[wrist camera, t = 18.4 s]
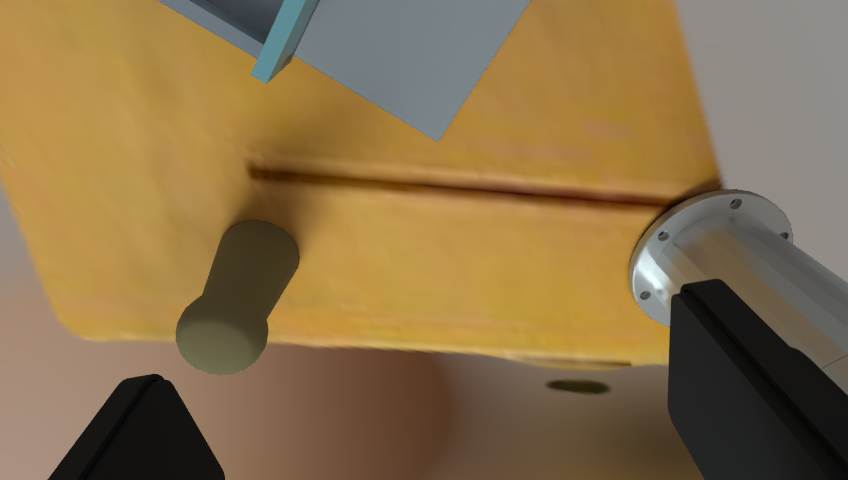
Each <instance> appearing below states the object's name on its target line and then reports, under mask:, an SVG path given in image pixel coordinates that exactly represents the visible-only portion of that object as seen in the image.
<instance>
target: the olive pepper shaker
mask: <svg viewBox="0 0 848 480" xmlns="http://www.w3.org/2000/svg"><path fill="white" fill-rule="evenodd" d="M298 264H299V253H298V248H297V246H296V244H295V242H294V241H293V239H292V237H291V236H290V235H289V234H287V233H286V232H285V231H284V230H283V229H282V228H280V227H278V226H276V225H274V224H272V223H269V222H264V221H259V220H252V221H243V222H241V223H238V224H236V225H233V226H232V227H231V228H230V229H228V230H227V231H226V232H225V233H224V235H223V237H222V239H221V241H220V243H219V246H218V249H217V252H216V255H215V258H214V261H213V264H212V267H211V270H210V273H209V276H208V279H207V282H206V285H205V288H204V291H203V294H202V296H200V297H199V298H197V299H196V300H195V301H194V302H192V303H191V304H190V305H189V306H188V307H186V309H185V310H184V312H183V313H182V315H181V317H180V319H179V321H178V323H177V328H176V342H177V345H178V348H179V350H180V353H181V355H182V356H183V358H184V359H185V360H186V361H187V362H188V363H189V364H191V365H192V366H194V367H195V368H196V369H198V370H201V371H203V372H206V373H209V374H216V375H227V374H234V373H237V372H239V371H242V370H244V369H246V368H248V367H249V366H250V365H252V364H253V363H254V362H255V361H256V360H257V359H258V358H259V356H260V354H261V353H262V352H263V350H264V348H265V346H266V342H267V336H268V324H267V318H268V316H269V315H270V313H271V311H272V310H273V308H274V306H275V305H276V303H277V301H278V300H279V298H280V296H281V295H282V293H283V291H284V290H285V288H286V286H287V285H288V283H289V281H290V280H291V278H292V276H293V275H294V273H295V271H296V270H297V268H298Z"/></svg>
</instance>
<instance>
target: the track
mask: <svg viewBox="0 0 848 480" xmlns="http://www.w3.org/2000/svg"><path fill="white" fill-rule="evenodd" d="M530 1H531V0H320V1H319V3H318V5H317V7H316V9H315V11H314V13H313V16H312V18H311V20H310V22H309V24H308V26H307V28H306V30H305V32H304V34H303V36H302V38H301V40H300V43H299V45H298V47H297V49H296V51H295V53H294V56H295V57H297V58H299V59H300V60H302V61H304V62H305V63H307V64H309V65H310V66H312V67H314V68H315V69H317V70H319V71H320V72H322V73H324V74H325V75H327V76H329V77H330V78H332V79H334V80H335V81H337V82H339V83H340V84H342V85H344V86H345V87H347V88H349V89H350V90H352V91H354V92H355V93H357V94H359V95H360V96H362V97H363V98H365V99H367V100H368V101H370V102H372V103H373V104H375V105H377V106H378V107H380V108H382V109H383V110H385V111H387V112H388V113H390V114H392V115H393V116H395V117H397V118H398V119H400V120H402V121H403V122H405V123H407V124H408V125H410V126H412V127H413V128H415V129H417V130H418V131H420V132H422V133H423V134H425V135H427V136H428V137H430V138H432V139H433V140H435V141H437V142H438V141H439V140H440V138H441V136H442V135H443V133H444V132H445V130H446V129H447V127H448V126H449V124H450V123H451V121H452V120H453V118H454V117H455V115H456V114H457V112H458V111H459V109H460V107H461V106H462V104H463V103H464V101H465V100H466V98H467V97H468V95H469V94H470V92H471V91H472V89H473V88H474V86H475V85H476V83H477V81H478V80H479V78H480V77H481V75H482V74H483V72H484V71H485V69H486V68H487V66H488V65H489V63H490V62H491V60H492V59H493V57H494V56H495V54H496V52H497V51H498V49H499V48H500V46H501V45H502V43H503V42H504V40H505V39H506V37H507V36H508V34H509V33H510V31H511V30H512V28H513V26H514V25H515V23H516V22H517V20H518V19H519V17H520V16H521V14H522V13H523V11H524V10H525V8H526V7H527V5H528V4H529V2H530Z"/></svg>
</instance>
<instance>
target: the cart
mask: <svg viewBox="0 0 848 480" xmlns="http://www.w3.org/2000/svg"><path fill="white" fill-rule="evenodd" d="M158 1H159V2H161V3H163V4H164V5H166V6H168V7H170V8H171V9H173V10H175V11H176V12H178V13H180V14H181V15H183V16H185V17H187V18H188V19H190V20H192V21H193V22H195V23H197V24H199V25H200V26H202V27H204V28H205V29H207V30H209V31H211V32H212V33H214V34H216V35H217V36H219V37H221V38H222V39H224V40H226V41H228V42H229V43H231V44H233V45H234V46H236V47H238V48H240V49H241V50H243V51H245V52H246V53H248V54H250V55H251V56H253V57H255V58H257V62H256V64H255V66H254V68H253V70H252V73H251V75H252V76H254V77H256V78H257V79H259V80H261V81H262V82H264V83H266V84H267V83H268V82H269V81H270V80H271V79H272V78H274V77H275V76H276V75H277V74H278V73H279V72H280V71H281V70H282V69H283V68H284V67H285V66H286V65H288V64H289V63H290V61H291V59H292V57H293V55H294V53H295V51H296V49H297V47H298V45H299V43H300V40H301V38H302V36H303V34H304V32H305V30H306V28H307V26H308V24H309V22H310V20H311V18H312V16H313V13H314V11H315V9H316V7H317V5H318V3H319V1H320V0H158Z"/></svg>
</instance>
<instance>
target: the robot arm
mask: <svg viewBox="0 0 848 480" xmlns="http://www.w3.org/2000/svg"><path fill="white" fill-rule="evenodd" d="M628 280H629V286H630V291H631V293H632V295H633V297H634V299H635V301H636V302H637V304H638V305H639V306H640V308H641V309H642V311H643V312H644V313H645V314H647V315H648V316H649V317H650V318H651V319H653V320H655V321H656V322H658V323H660V324H663V325H666V326H669V327H670V344H669V377H668V378H669V379H668V410H669V414H670V418H671V420H672V423H673V425H674V427H675V428H676V430H677V432H678V434H679V435H680V437H681V439H682V441H683V442H684V444H685V446H686V447H687V449H688V451H689V453H690V454H691V456H692V458H693V460H694V462H695V463H696V465H697V467H698V469H699V470H700V472H701V474H702V476H703V477H704V479H705V480H848V283H847V282H846V281H844V280H843V279H842V278H840V277H839V276H837V275H836V274H834V273H833V272H832V271H830V270H829V269H827V268H826V267H824V266H823V265H822V264H820V263H819V262H817V261H816V260H814V259H813V258H812V257H810V256H809V255H807V254H806V253H805V252H803V251H802V250H800V249H799V248H797V247H796V246H794V245H793V233H792V229H791V225H790V222H789V221H788V219H787V217H786V215H785V214H784V212H783V211H782V210H781V209H779V208H778V207H777V206H776V205H775V204H774V203H772V202H771V201H769V200H767V199H766V198H764V197H762V196H760V195H757V194H755V193H752V192H749V191H743V190H737V189H733V190H717V191H712V192H707V193H703V194H701V195H698V196H695V197H693V198H690V199H688V200H686V201H684V202H682V203H680V204H678V205H676V206H675V207H673V208H672V209H670V210H669V211H668V212H666V213H665V214H664V215H662V216H661V217H660V218H659V219H658V220H657V221H656V222H655V223H654V224H653V225H652V226H651V227H650V228H649V229H648V230H647V231H646V233H645V234H644V235H643V237H642V238H641V239H640V241H639V243H638V245H637V247H636V249H635V251H634V253H633V255H632V258H631V262H630V266H629V277H628ZM48 480H225V475H224V472H223V470H222V468H221V466H220V464H219V463H218V461H217V459H216V458H215V456H214V454H213V453H212V451H211V449H210V447H209V446H208V444H207V442H206V440H205V439H204V437H203V435H202V433H201V432H200V430H199V428H198V427H197V425H196V423H195V421H194V420H193V418H192V416H191V415H190V413H189V411H188V409H187V408H186V406H185V404H184V403H183V401H182V399H181V398H180V396H179V394H178V392H177V391H176V389H175V387H174V385H173V384H172V383H171V382H170V381H168V380H164V378H163V377H162V376H160V375H158V374H151V375H145V376H139V377H133V378H127V379H125V380H123V381H122V382H121V383H120V384H119V385H118V386H117V387H116V389H115V390H114V392H113V393H112V394H111V396H110V397H109V398H108V399H107V401H106V402H105V403H104V405H103V406H102V408H101V409H100V410H99V412H98V413H97V414H96V416H95V417H94V418H93V420H92V421H91V422H90V424H89V425H88V426H87V428H86V429H85V430H84V432H83V433H82V434H81V436H80V437H79V438H78V440H77V441H76V442H75V444H74V445H73V446H72V448H71V449H70V450H69V452H68V453H67V454H66V456H65V457H64V458H63V460H62V461H61V462H60V464H59V465H58V467H57V468H56V469H55V471H54V472H53V473H52V475H51V476H50V477H49V479H48Z"/></svg>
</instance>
